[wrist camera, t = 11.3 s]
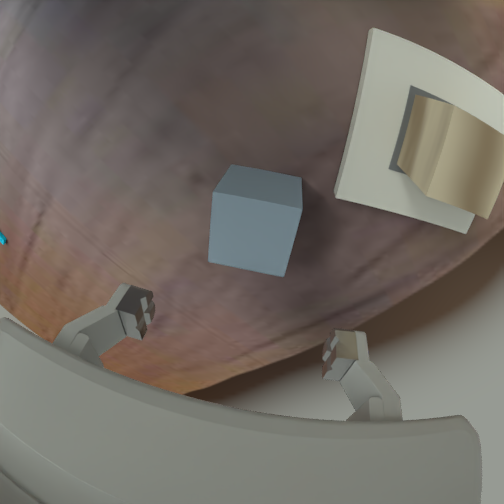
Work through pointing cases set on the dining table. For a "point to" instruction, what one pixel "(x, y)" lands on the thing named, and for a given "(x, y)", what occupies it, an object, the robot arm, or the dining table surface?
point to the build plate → (405, 125)
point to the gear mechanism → (2, 238)
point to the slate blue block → (255, 219)
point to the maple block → (453, 156)
